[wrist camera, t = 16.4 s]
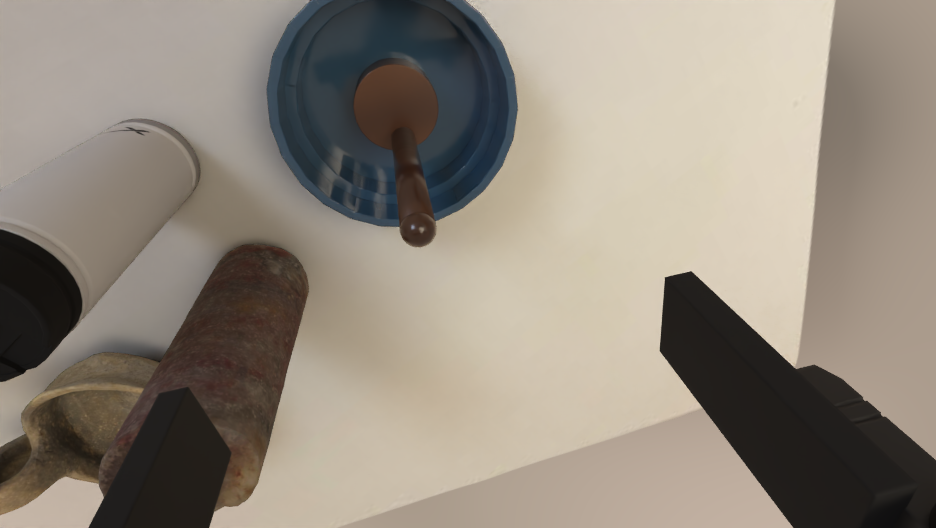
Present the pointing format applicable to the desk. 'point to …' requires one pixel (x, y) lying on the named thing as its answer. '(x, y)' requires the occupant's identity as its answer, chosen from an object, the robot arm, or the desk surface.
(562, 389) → the desk surface
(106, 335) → the desk surface
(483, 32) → the mixing bowl
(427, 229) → the ladle
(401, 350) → the desk surface
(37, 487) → the bowl
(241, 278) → the brown cylinder
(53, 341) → the travel mug
